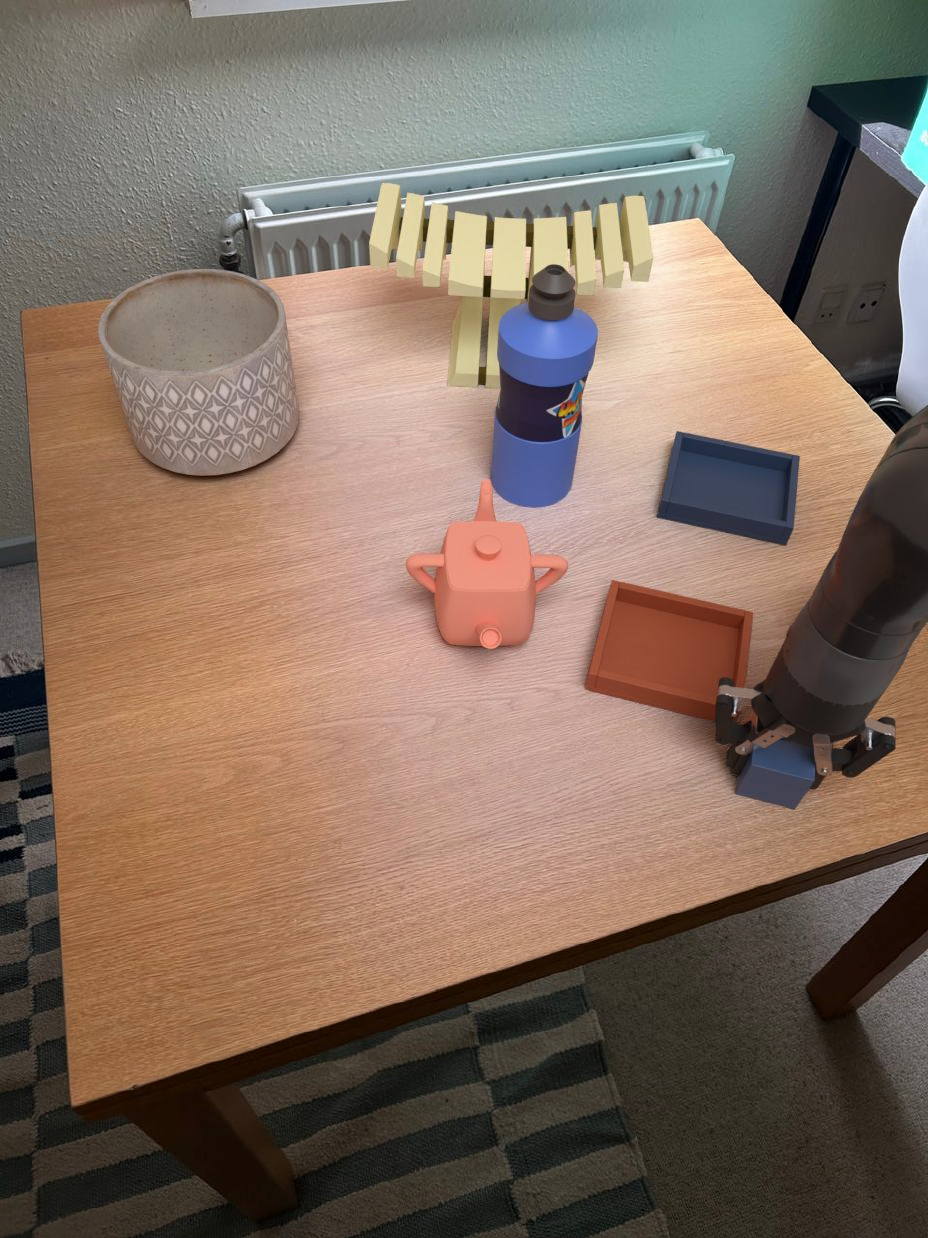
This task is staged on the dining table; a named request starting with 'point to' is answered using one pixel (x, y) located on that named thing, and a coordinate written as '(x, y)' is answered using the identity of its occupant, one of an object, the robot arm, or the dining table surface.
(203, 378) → the planter
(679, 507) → the blue tray
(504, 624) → the teapot
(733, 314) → the dining table surface
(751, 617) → the terracotta tray
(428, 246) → the slatted curved stool
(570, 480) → the water bottle
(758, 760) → the blue block
